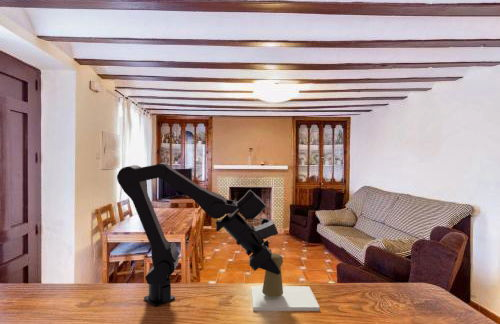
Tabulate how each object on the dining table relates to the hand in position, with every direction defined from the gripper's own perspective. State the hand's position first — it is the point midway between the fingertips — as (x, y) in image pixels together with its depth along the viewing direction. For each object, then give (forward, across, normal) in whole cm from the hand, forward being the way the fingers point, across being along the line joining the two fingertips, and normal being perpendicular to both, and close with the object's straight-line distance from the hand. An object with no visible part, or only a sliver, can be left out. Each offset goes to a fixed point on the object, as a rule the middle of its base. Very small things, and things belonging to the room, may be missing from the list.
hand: (278, 269), depth 96 cm
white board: (+7, 0, +5) cm, 9 cm away
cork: (+4, 0, +6) cm, 7 cm away
